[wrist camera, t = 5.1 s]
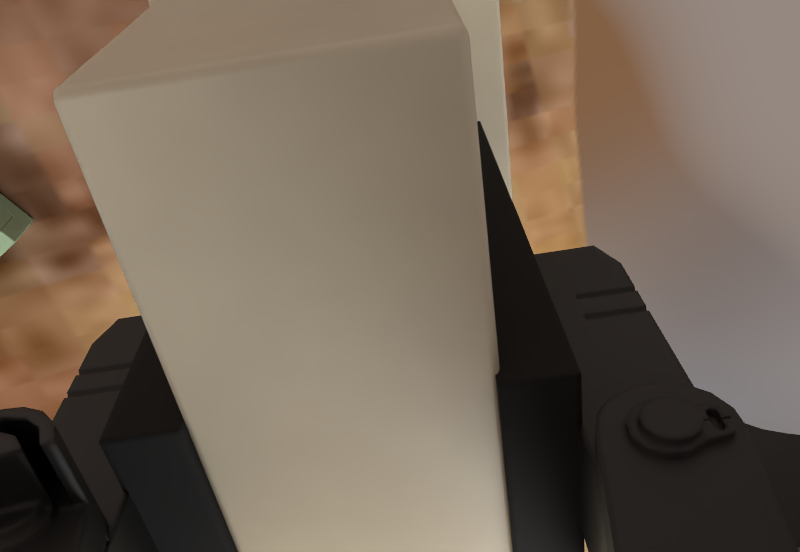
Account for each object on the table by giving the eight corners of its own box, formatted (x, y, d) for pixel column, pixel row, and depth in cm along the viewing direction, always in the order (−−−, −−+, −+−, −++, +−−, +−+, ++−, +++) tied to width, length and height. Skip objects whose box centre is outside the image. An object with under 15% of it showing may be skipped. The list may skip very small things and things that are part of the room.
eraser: (151, -123, 13) (-214, -32, 5) (466, -177, 12) (659, -179, 4) (292, 366, 18) (239, 783, 10) (508, 336, 18) (623, 736, 10)
